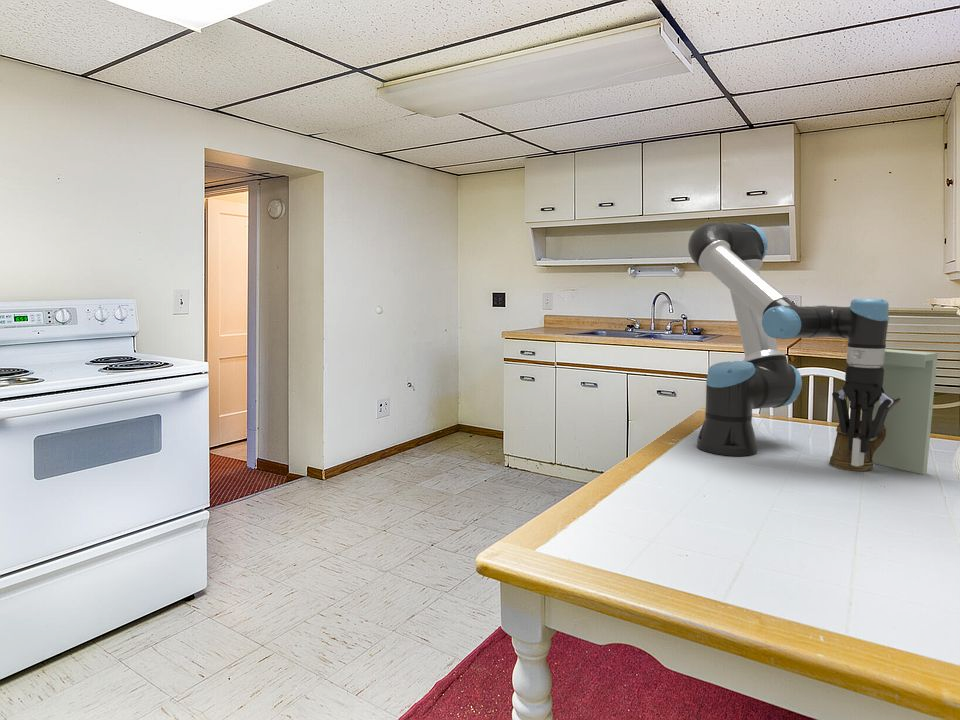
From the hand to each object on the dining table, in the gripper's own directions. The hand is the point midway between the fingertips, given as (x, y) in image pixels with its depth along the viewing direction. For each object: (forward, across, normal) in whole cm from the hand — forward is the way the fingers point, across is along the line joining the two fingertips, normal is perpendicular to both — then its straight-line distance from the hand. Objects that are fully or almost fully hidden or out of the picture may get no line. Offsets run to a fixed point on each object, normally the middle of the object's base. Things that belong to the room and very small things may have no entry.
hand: (857, 464), depth 145 cm
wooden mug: (+2, -2, +5) cm, 6 cm away
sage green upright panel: (+2, +3, +11) cm, 11 cm away
